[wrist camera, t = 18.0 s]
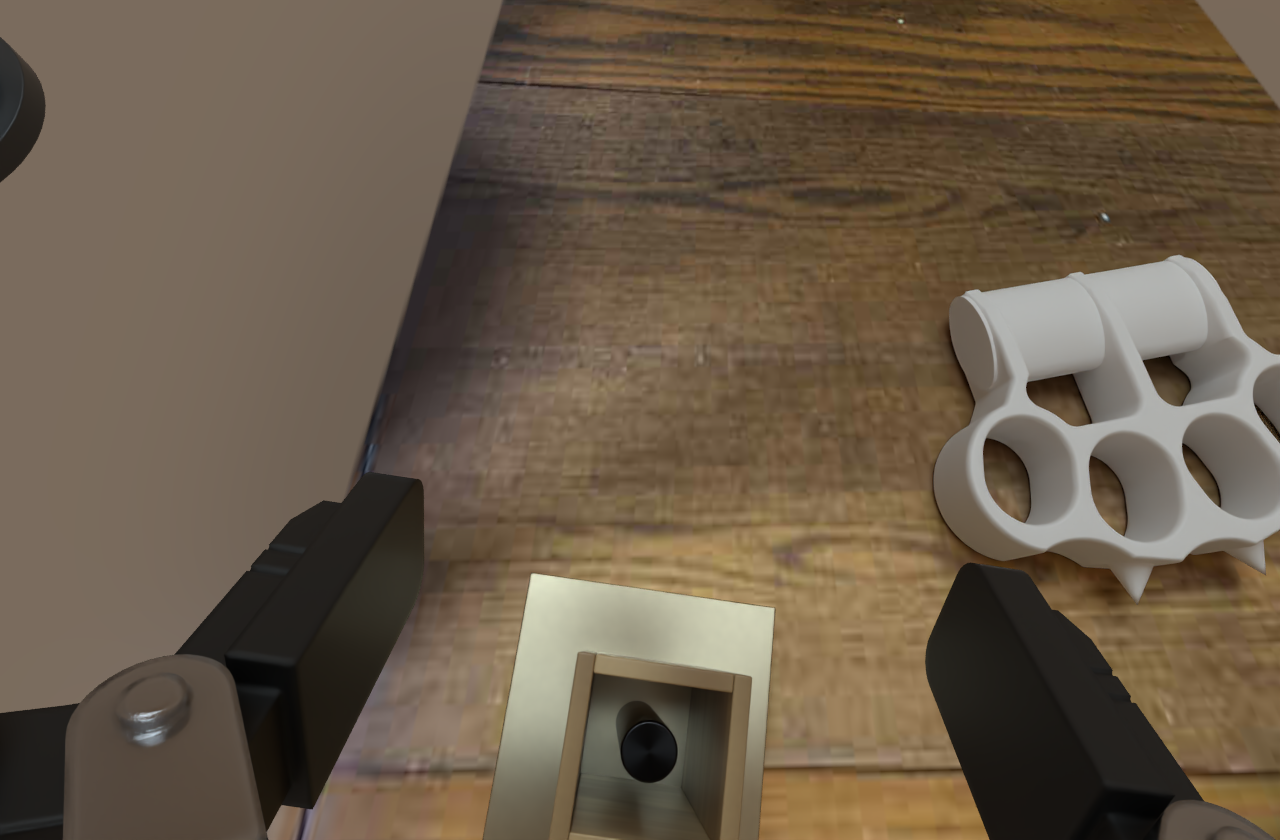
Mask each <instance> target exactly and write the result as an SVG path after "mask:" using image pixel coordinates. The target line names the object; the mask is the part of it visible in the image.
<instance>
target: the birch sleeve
mask: <svg viewBox="0 0 1280 840" xmlns="http://www.w3.org/2000/svg"><path fill="white" fill-rule="evenodd" d="M595 674H602V675H609V676H616V677H623V678H630V679H637V680H644V681H651V682H658V683H665V684H672V685H678V686H685V687H692V690H691V700H690V709H689V718H688V728H687V737H686V746H685V756H684V765H683V774H682V784H681V787H679V786H672V785H666V784H659V783H643V782H640V781H637V780H631V779H624V778H617V777H610V776H603V775H596V774H589V773H582V772H581V773H580V771H581V764H582V757H583V750H584V744H585V737H586V730H587V723H588V717H589V710H590V703H591V696H592V690H593V683H594V676H595ZM751 688H752V677H751V676H747V675H742V674H737V673H732V672H726V671H721V670H716V669H711V668H706V667H699V666H692V665H685V664H678V663H671V662H665V661H658V660H651V659H644V658H637V657H630V656H623V655H616V654H609V653H602V652H595V651H588V650H586V651H580V652H578V654H577V660H576V666H575V673H574V679H573V685H572V692H571V698H570V704H569V711H568V717H567V724H566V730H565V736H564V743H563V749H562V755H561V762H560V768H559V775H558V781H557V787H556V794H555V800H554V806H553V813H552V819H551V826H550V832H549V838H548V840H739V834H740V822H741V810H742V798H743V786H744V774H745V761H746V749H747V737H748V725H749V713H750V700H751Z"/></svg>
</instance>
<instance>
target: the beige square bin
mask: <svg viewBox="0 0 1280 840" xmlns="http://www.w3.org/2000/svg"><path fill="white" fill-rule="evenodd" d="M774 621H775V608H774V607H767V606H760V605H753V604H746V603H739V602H732V601H725V600H718V599H711V598H704V597H697V596H690V595H683V594H676V593H670V592H663V591H656V590H649V589H642V588H635V587H628V586H621V585H614V584H607V583H600V582H593V581H586V580H579V579H572V578H565V577H558V576H551V575H544V574H537V573H531V575H530V581H529V586H528V592H527V597H526V603H525V608H524V614H523V619H522V625H521V630H520V636H519V641H518V647H517V652H516V658H515V663H514V669H513V674H512V680H511V685H510V691H509V696H508V702H507V707H506V713H505V718H504V724H503V729H502V735H501V741H500V746H499V752H498V757H497V763H496V768H495V774H494V779H493V785H492V790H491V796H490V801H489V807H488V812H487V818H486V823H485V829H484V834H483V840H548V838H549V832H550V826H551V819H552V813H553V806H554V800H555V794H556V787H557V781H558V775H559V768H560V762H561V755H562V749H563V743H564V736H565V730H566V724H567V717H568V711H569V704H570V698H571V692H572V685H573V679H574V673H575V666H576V660H577V654H578V652H580V651H586V650H588V651H595V652H602V653H609V654H616V655H623V656H630V657H637V658H644V659H651V660H658V661H665V662H671V663H678V664H685V665H692V666H699V667H706V668H711V669H716V670H721V671H726V672H732V673H737V674H742V675H747V676H751V677H752V688H751V700H750V713H749V725H748V737H747V749H746V761H745V774H744V786H743V798H742V810H741V822H740V834H739V840H758V839H759V825H760V812H761V798H762V784H763V771H764V757H765V743H766V730H767V716H768V703H769V689H770V675H771V662H772V648H773V635H774ZM691 690H692V687H685V686H678V685H672V684H665V683H658V682H651V681H644V680H637V679H630V678H623V677H616V676H609V675H602V674H595V676H594V683H593V690H592V696H591V703H590V710H589V717H588V723H587V730H586V737H585V744H584V750H583V757H582V764H581V771H580V773H581V772H582V773H589V774H596V775H603V776H610V777H617V778H624V779H631V780H637V781H640V782H643V783H659V784H666V785H672V786H679V787H681V784H682V774H683V765H684V756H685V746H686V737H687V728H688V718H689V709H690V700H691Z"/></svg>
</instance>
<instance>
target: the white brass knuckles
mask: <svg viewBox="0 0 1280 840" xmlns="http://www.w3.org/2000/svg"><path fill="white" fill-rule="evenodd" d="M949 325H950V333H951V339H952V343H953V347H954V350H955V353H956V356H957V359H958V361H959V363H960V365H961V367H962V369H963V371H964V372H965V375H966V378H967V380H968V383H969V386H970V389H971V391H972V394H973V397H974V399H975V402H976V404H975V408H974V411H973V415H972V418H971V421H970V424H969V426H967V427H965V428H964V429H962V430H961V431H959V432H958V433H956V434H955V435H954V436H953V437H952V438H951V439H950V440H949V441H948V442H947V443H946V444H945V446H944V447H943V449H942V450H941V452H940V454H939V456H938V459H937V461H936V465H935V469H934V478H933V484H934V493H935V498H936V502H937V505H938V507H939V510H940V512H941V514H942V516H943V518H944V520H945V522H946V523H947V525H948V526H949V527H950V529H951V530H952V531H953V532H954V534H955V535H956V536H957V537H958V538H959V539H960V540H961V541H963V542H964V543H965V544H966V545H968V546H969V547H970V548H972V549H973V550H975V551H977V552H978V553H980V554H982V555H985V556H987V557H989V558H992V559H996V560H1000V561H1007V560H1012V559H1017V558H1021V557H1026V556H1031V555H1036V554H1040V553H1044V552H1046V551H1049V552H1054V553H1057V554H1060V555H1063V556H1065V557H1067V558H1069V559H1071V560H1073V561H1075V562H1076V563H1078V564H1079V565H1081V566H1082V567H1090V568H1105V569H1110V570H1111V571H1112V572H1113V574H1114V575H1115V576H1116V578H1117V579H1118V580H1119V582H1120V583H1121V584H1122V586H1123V587H1124V588H1125V590H1126V591H1127V592H1128V593H1129V595H1130V596H1131V597H1132V599H1133V600H1134V601H1135V603H1136V604H1137V605H1138V602H1139V600H1140V597H1141V595H1142V593H1143V590H1144V588H1145V586H1146V583H1147V581H1148V578H1149V576H1150V574H1151V571H1152V569H1153V566H1159V565H1166V564H1173V563H1179V562H1182V561H1183V560H1184V559H1185V557H1186V556H1187V555H1188V554H1193V555H1198V554H1205V553H1211V552H1218V551H1225V552H1226V553H1228V554H1230V555H1232V556H1233V557H1235V558H1237V559H1238V560H1240V561H1242V562H1244V563H1245V564H1247V565H1249V566H1251V567H1252V568H1254V569H1256V570H1257V571H1259V572H1261V573H1263V574H1264V575H1266V569H1265V556H1264V543H1263V540H1264V539H1266V538H1267V537H1269V536H1271V535H1272V534H1274V533H1276V532H1277V531H1279V530H1280V443H1279V442H1278V441H1277V439H1276V438H1275V437H1274V436H1273V435H1272V433H1271V432H1270V431H1269V430H1268V429H1267V427H1266V426H1265V425H1264V424H1263V422H1262V421H1261V419H1260V417H1259V416H1258V414H1257V411H1256V409H1255V406H1254V403H1255V404H1256V405H1257V406H1258V407H1259V408H1260V409H1261V410H1262V412H1263V413H1264V414H1265V415H1266V416H1267V418H1268V419H1269V420H1270V421H1271V422H1272V424H1273V425H1274V426H1275V428H1276V429H1277V431H1278V432H1279V434H1280V355H1275V354H1272V353H1270V352H1268V351H1267V350H1265V349H1264V348H1263V347H1261V346H1260V345H1259V344H1257V343H1256V342H1254V341H1253V340H1252V339H1250V338H1249V337H1248V336H1247V335H1246V334H1245V333H1244V332H1243V330H1242V328H1241V326H1240V324H1239V322H1238V320H1237V318H1236V316H1235V314H1234V312H1233V310H1232V308H1231V306H1230V304H1229V302H1228V300H1227V298H1226V297H1225V295H1224V294H1223V293H1222V291H1221V289H1220V287H1219V285H1218V284H1217V282H1216V281H1215V279H1214V278H1213V276H1212V275H1211V274H1210V273H1209V272H1208V271H1207V270H1206V269H1205V268H1204V267H1203V266H1202V265H1200V264H1199V263H1198V262H1196V261H1195V260H1193V259H1190V258H1184V257H1183V256H1181V255H1177V256H1171V257H1169V258H1167V259H1166V260H1164V261H1163V262H1157V263H1151V264H1145V265H1139V266H1133V267H1128V268H1122V269H1116V270H1110V271H1104V272H1098V273H1093V274H1087V275H1084V274H1083V273H1081V272H1077V273H1071V274H1069V275H1068V276H1067V277H1066V278H1063V279H1058V280H1052V281H1046V282H1040V283H1034V284H1028V285H1023V286H1017V287H1011V288H1005V289H999V290H993V291H988V292H981V291H979V290H972V291H967V292H966V293H965V294H964V295H963V296H959V297H956V298H955V299H954V300H953V301H952V303H951V305H950V309H949ZM1168 355H1169V356H1170V358H1171V360H1172V362H1173V364H1174V365H1175V366H1176V367H1178V368H1179V369H1181V370H1182V371H1183V372H1184V373H1185V374H1186V375H1187V376H1188V378H1189V379H1190V382H1191V390H1190V392H1189V393H1188V395H1187V396H1186V398H1185V400H1184V403H1183V406H1180V407H1176V406H1172V405H1170V404H1168V403H1166V402H1165V401H1163V400H1162V399H1161V398H1160V396H1159V395H1158V394H1157V392H1156V390H1155V388H1154V386H1153V383H1152V381H1151V379H1150V377H1149V374H1148V372H1147V370H1146V368H1145V366H1144V363H1143V361H1142V360H1147V359H1152V358H1157V357H1163V356H1168ZM1067 374H1073V376H1074V378H1075V381H1076V383H1077V386H1078V388H1079V390H1080V393H1081V395H1082V398H1083V400H1084V402H1085V405H1086V407H1087V410H1088V412H1089V414H1090V417H1091V420H1092V424H1089V425H1084V426H1079V427H1074V426H1071V425H1068V424H1067V423H1065V422H1064V421H1063V420H1061V419H1060V418H1059V417H1058V416H1056V415H1055V414H1053V413H1051V412H1049V411H1047V410H1045V409H1043V408H1040V407H1038V406H1036V405H1035V404H1034V403H1033V402H1032V401H1031V400H1030V399H1029V397H1028V395H1027V392H1026V385H1027V382H1030V381H1035V380H1041V379H1046V378H1051V377H1057V376H1062V375H1067ZM986 438H989V439H994V440H997V441H999V442H1001V443H1003V444H1005V445H1007V446H1008V447H1010V448H1011V449H1012V450H1013V451H1014V452H1015V453H1016V454H1017V455H1018V456H1019V457H1020V458H1021V460H1022V461H1023V463H1024V465H1025V467H1026V469H1027V472H1028V475H1029V480H1030V491H1031V510H1030V514H1029V517H1028V519H1027V521H1026V522H1025V523H1022V522H1020V521H1017V520H1015V519H1013V518H1012V517H1010V516H1009V515H1007V514H1006V513H1005V512H1004V511H1002V510H1001V509H1000V508H999V507H998V505H997V504H996V503H995V502H994V500H993V499H992V497H991V495H990V493H989V491H988V489H987V486H986V483H985V478H984V464H983V446H984V442H985V439H986ZM1182 443H1184V444H1185V445H1187V446H1188V447H1189V448H1191V449H1192V450H1193V451H1194V452H1195V453H1196V454H1197V455H1198V457H1199V458H1200V459H1201V461H1202V462H1203V463H1204V464H1205V466H1206V467H1207V468H1208V469H1209V471H1210V472H1211V473H1212V475H1213V476H1214V478H1215V480H1216V482H1217V484H1218V487H1219V490H1220V495H1221V507H1220V508H1219V507H1218V506H1217V505H1216V504H1214V503H1213V502H1212V501H1211V500H1210V498H1209V497H1208V496H1207V495H1206V494H1205V492H1204V491H1203V490H1202V488H1201V487H1200V486H1199V485H1198V483H1197V482H1196V481H1195V479H1194V478H1193V477H1192V475H1191V474H1190V472H1189V470H1188V468H1187V466H1186V464H1185V461H1184V458H1183V453H1182ZM1090 456H1094V457H1096V458H1098V459H1100V460H1101V461H1103V462H1104V463H1105V464H1107V465H1108V466H1109V467H1110V468H1111V469H1112V470H1113V471H1114V473H1115V474H1116V475H1117V477H1118V478H1119V480H1120V482H1121V484H1122V487H1123V489H1124V493H1125V499H1126V507H1127V515H1128V524H1127V529H1126V532H1125V535H1124V536H1122V535H1120V534H1119V533H1117V532H1116V531H1115V530H1113V529H1112V528H1111V527H1110V526H1109V525H1108V524H1107V523H1106V522H1105V521H1104V520H1103V518H1102V517H1101V516H1100V514H1099V512H1098V511H1097V509H1096V507H1095V504H1094V502H1093V498H1092V494H1091V486H1090V477H1089V460H1090Z"/></svg>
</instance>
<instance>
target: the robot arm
mask: <svg viewBox="0 0 1280 840" xmlns="http://www.w3.org/2000/svg"><path fill="white" fill-rule="evenodd" d="M423 569H424V490H423V485H422V482H421V481H420V480H419V479H413V478H406V477H399V476H393V475H386V474H379V473H372V472H368V473H366V474H364V475H363V476H362V478H361V479H360V480H359V481H358V483H357V484H356V485H355V487H354V488H353V489H352V490H351V492H350V493H349V494H348V496H347V497H346V498H345V499H344V501H343V502H342V503H337V502H330V501H322V502H320V503H319V504H317V505H315V506H313V507H312V508H310V509H308V510H306V511H305V512H303V513H301V514H300V515H298V516H296V517H294V518H293V519H291V520H290V521H289V522H288V524H287V525H286V526H285V527H284V528H283V529H282V530H281V532H280V533H279V534H278V535H277V536H276V537H275V539H274V540H273V541H272V542H271V543H270V544H269V549H268V550H264V551H263V552H262V554H261V555H260V556H259V557H258V558H257V559H256V561H255V562H254V563H253V564H252V566H251V570H250V571H246V572H245V574H244V575H243V576H242V577H241V578H240V579H239V580H238V582H237V583H236V584H235V585H234V586H233V587H232V588H231V590H230V591H229V592H228V593H227V594H226V596H225V597H224V598H223V599H222V600H221V602H219V604H218V605H217V606H216V607H215V608H214V609H213V611H212V612H211V613H210V614H209V615H208V616H207V618H206V619H205V620H204V621H203V622H202V623H201V625H200V626H199V627H198V628H197V629H196V631H194V633H193V634H192V635H191V636H190V637H189V638H188V640H187V641H186V642H185V643H184V644H183V645H182V647H181V648H180V649H179V650H178V651H177V652H176V653H175V655H170V656H163V657H159V658H155V659H150V660H148V661H145V662H142V663H138V664H136V665H134V666H131V667H129V668H127V669H124V670H122V671H121V672H119V673H117V674H115V675H113V676H112V677H110V678H108V679H107V680H106V681H104V682H103V683H101V684H100V685H98V686H97V687H96V688H95V689H94V690H93V691H91V692H90V693H89V694H88V695H87V696H86V697H85V698H84V699H83V701H82V702H81V703H78V704H72V705H65V706H57V707H48V708H40V709H32V710H23V711H15V712H6V713H0V840H268V838H267V833H266V832H267V830H268V829H269V827H270V825H271V823H272V821H273V819H274V817H275V816H276V814H277V812H278V810H279V808H280V806H281V805H286V806H293V807H300V808H307V809H313V807H314V805H315V803H316V801H317V799H318V797H319V795H320V793H321V791H322V789H323V787H324V785H325V783H326V781H327V779H328V777H329V775H330V773H331V771H332V769H333V767H334V765H335V763H336V761H337V759H338V757H339V755H340V753H341V751H342V749H343V747H344V745H345V743H346V741H347V739H348V737H349V735H350V733H351V731H352V729H353V727H354V725H355V723H356V721H357V719H358V717H359V715H360V713H361V711H362V709H363V707H364V705H365V703H366V701H367V699H368V697H369V695H370V693H371V691H372V689H373V687H374V685H375V683H376V681H377V679H378V677H379V675H380V673H381V671H382V669H383V667H384V665H385V663H386V661H387V659H388V657H389V655H390V653H391V651H392V649H393V647H394V645H395V643H396V641H397V639H398V637H399V635H400V633H401V631H402V629H403V627H404V625H405V623H406V621H407V619H408V617H409V615H410V613H411V611H412V609H413V607H414V605H415V602H416V600H417V597H418V594H419V590H420V586H421V582H422V577H423ZM925 664H926V674H927V679H928V682H929V685H930V688H931V690H932V693H933V696H934V698H935V701H936V703H937V706H938V708H939V711H940V713H941V716H942V719H943V721H944V724H945V726H946V729H947V731H948V734H949V737H950V739H951V742H952V744H953V747H954V749H955V752H956V755H957V757H958V760H959V762H960V765H961V767H962V770H963V773H964V775H965V778H966V780H967V783H968V785H969V788H970V791H971V793H972V796H973V798H974V801H975V803H976V806H977V808H978V811H979V814H980V816H981V819H982V821H983V824H984V826H985V829H986V832H987V834H988V837H989V839H990V840H1275V839H1274V838H1273V837H1272V836H1270V835H1269V834H1268V833H1266V832H1265V831H1263V830H1262V829H1261V828H1259V827H1258V826H1256V825H1255V824H1253V823H1251V822H1250V821H1248V820H1247V819H1245V818H1243V817H1241V816H1239V815H1238V814H1236V813H1234V812H1232V811H1230V810H1227V809H1225V808H1223V807H1220V806H1218V805H1215V804H1211V803H1208V802H1204V800H1203V799H1202V797H1201V796H1200V795H1199V793H1198V792H1197V790H1196V789H1195V787H1194V786H1193V785H1192V783H1191V782H1190V780H1189V779H1188V777H1187V776H1186V775H1185V773H1184V772H1183V770H1182V769H1181V767H1180V766H1179V765H1178V763H1177V762H1176V760H1175V759H1174V757H1173V756H1172V754H1171V753H1170V752H1169V750H1168V749H1167V747H1166V746H1165V744H1164V743H1163V742H1162V740H1161V739H1160V737H1159V736H1158V734H1157V733H1156V732H1155V730H1154V729H1153V727H1152V726H1151V724H1150V723H1149V722H1148V720H1147V719H1146V717H1145V716H1144V714H1143V713H1142V712H1141V710H1140V709H1139V707H1138V706H1137V704H1136V703H1131V701H1130V697H1131V696H1130V694H1129V693H1128V692H1127V690H1126V689H1125V687H1124V686H1123V684H1122V683H1121V682H1120V680H1119V679H1118V677H1116V676H1113V675H1112V671H1113V670H1112V669H1111V667H1110V666H1109V664H1108V663H1107V662H1106V660H1105V659H1104V657H1103V656H1102V654H1101V653H1100V652H1099V650H1098V649H1097V647H1096V646H1095V644H1094V643H1093V641H1092V640H1091V639H1090V638H1089V637H1088V636H1087V635H1085V634H1084V633H1083V632H1082V631H1081V630H1080V629H1079V628H1077V627H1076V626H1075V625H1074V624H1073V623H1072V622H1071V621H1069V620H1068V619H1067V618H1066V617H1065V616H1064V615H1063V614H1061V613H1060V612H1059V611H1057V610H1052V609H1051V608H1050V606H1049V605H1048V603H1047V602H1046V600H1045V599H1044V597H1043V596H1042V594H1041V593H1040V591H1039V590H1038V588H1037V587H1036V585H1035V584H1034V582H1033V581H1032V579H1031V578H1030V577H1029V575H1028V574H1027V573H1025V572H1024V571H1022V570H1016V569H1010V568H1003V567H996V566H989V565H983V564H976V563H967V564H965V565H964V566H963V567H962V568H961V569H960V570H959V572H958V574H957V576H956V578H955V580H954V583H953V585H952V587H951V590H950V592H949V594H948V596H947V599H946V601H945V603H944V605H943V608H942V610H941V612H940V615H939V617H938V619H937V621H936V624H935V626H934V628H933V631H932V633H931V635H930V638H929V640H928V644H927V649H926V659H925Z"/></svg>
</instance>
